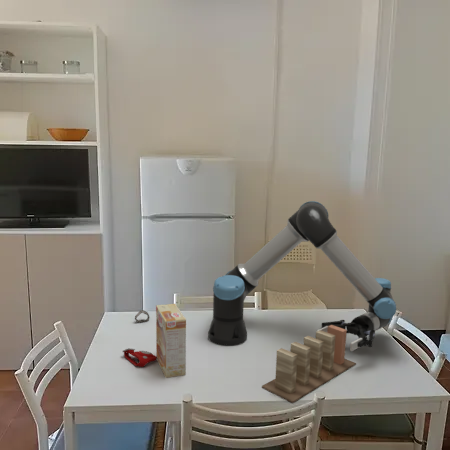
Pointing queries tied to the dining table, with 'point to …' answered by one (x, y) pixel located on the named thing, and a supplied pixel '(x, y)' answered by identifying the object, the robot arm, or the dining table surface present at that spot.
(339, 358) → the terracotta tile
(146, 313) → the wristwatch
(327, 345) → the maple tile
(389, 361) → the dining table surface
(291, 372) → the maple tile
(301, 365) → the maple tile
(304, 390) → the board
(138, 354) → the tracker holder
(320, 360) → the maple tile
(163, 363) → the coffeecake box
